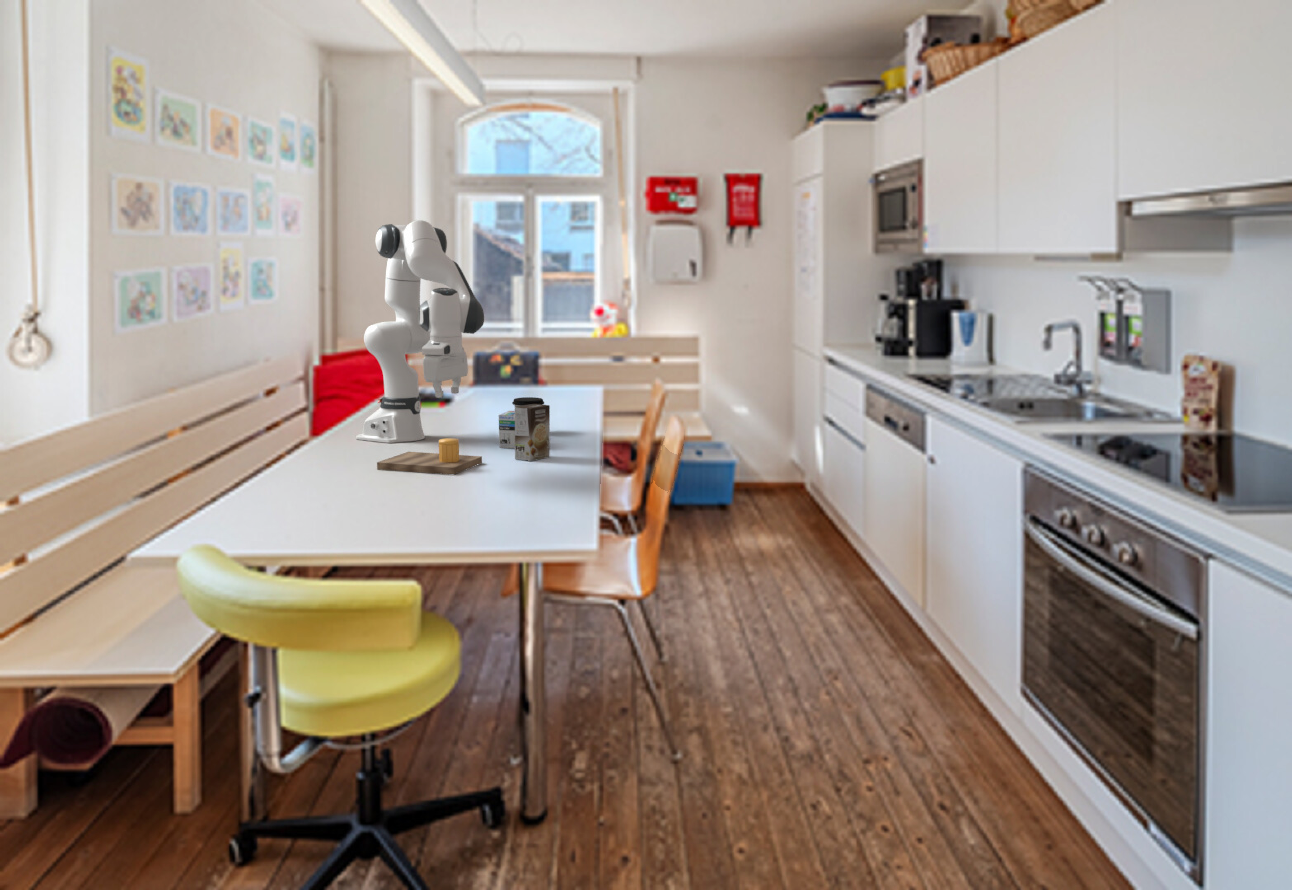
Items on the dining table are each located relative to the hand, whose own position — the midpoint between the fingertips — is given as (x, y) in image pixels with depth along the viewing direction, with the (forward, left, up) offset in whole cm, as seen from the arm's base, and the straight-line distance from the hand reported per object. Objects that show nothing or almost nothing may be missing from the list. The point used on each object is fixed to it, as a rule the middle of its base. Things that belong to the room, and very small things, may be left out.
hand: (447, 395), depth 291 cm
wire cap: (0, 0, -19) cm, 19 cm away
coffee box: (+17, +21, -21) cm, 34 cm away
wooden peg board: (-6, 0, -21) cm, 22 cm away
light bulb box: (+3, +39, -21) cm, 44 cm away
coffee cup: (-2, +63, -21) cm, 66 cm away
